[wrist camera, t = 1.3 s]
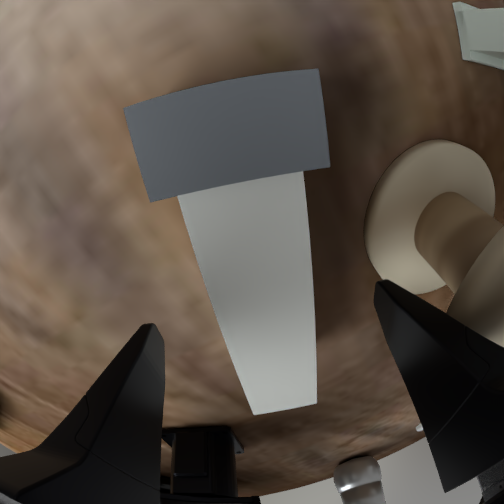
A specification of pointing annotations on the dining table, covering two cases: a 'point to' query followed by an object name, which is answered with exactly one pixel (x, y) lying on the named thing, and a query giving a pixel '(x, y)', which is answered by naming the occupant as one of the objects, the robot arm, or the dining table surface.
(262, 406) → the mallet
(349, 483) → the plastic bottle
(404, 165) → the bobbin
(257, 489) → the dining table surface
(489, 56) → the notched board
